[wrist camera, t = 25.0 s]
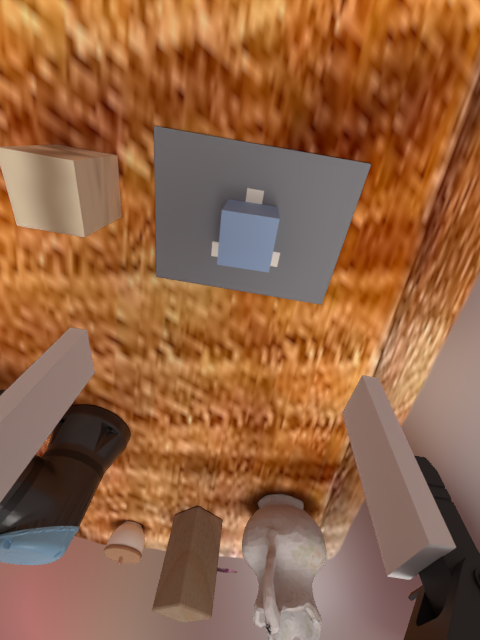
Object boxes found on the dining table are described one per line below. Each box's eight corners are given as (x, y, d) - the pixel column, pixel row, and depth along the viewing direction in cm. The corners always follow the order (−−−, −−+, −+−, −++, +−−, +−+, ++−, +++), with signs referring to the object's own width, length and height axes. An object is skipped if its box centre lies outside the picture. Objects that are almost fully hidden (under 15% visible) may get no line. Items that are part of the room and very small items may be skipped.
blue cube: (223, 247, 37) (216, 264, 32) (228, 199, 34) (221, 209, 29) (268, 254, 38) (268, 272, 32) (277, 206, 34) (279, 218, 29)
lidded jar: (142, 536, 92) (130, 573, 84) (111, 525, 90) (96, 563, 82) (154, 525, 87) (143, 563, 79) (121, 514, 85) (106, 552, 77)
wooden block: (198, 505, 78) (179, 606, 61) (223, 519, 81) (212, 619, 65) (174, 514, 82) (150, 611, 65) (199, 527, 85) (183, 623, 69)
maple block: (68, 207, 37) (17, 225, 29) (57, 144, 33) (-5, 146, 25) (122, 216, 37) (84, 237, 29) (117, 155, 33) (73, 160, 26)
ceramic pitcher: (227, 486, 73) (203, 625, 53) (295, 473, 65) (297, 633, 45) (270, 521, 82) (264, 652, 62) (335, 514, 74) (351, 662, 54)
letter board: (157, 275, 41) (156, 276, 41) (155, 125, 31) (153, 125, 31) (321, 303, 41) (321, 304, 41) (370, 163, 31) (371, 164, 31)
